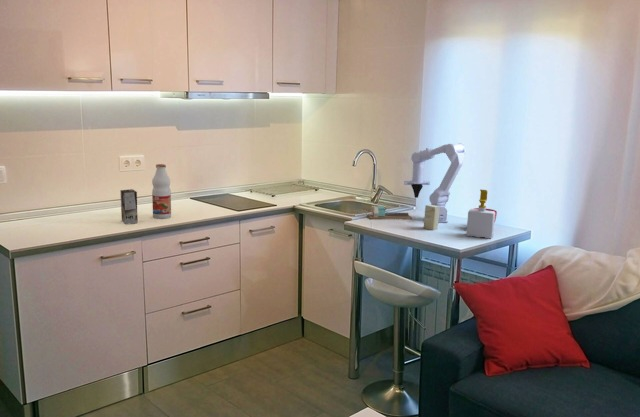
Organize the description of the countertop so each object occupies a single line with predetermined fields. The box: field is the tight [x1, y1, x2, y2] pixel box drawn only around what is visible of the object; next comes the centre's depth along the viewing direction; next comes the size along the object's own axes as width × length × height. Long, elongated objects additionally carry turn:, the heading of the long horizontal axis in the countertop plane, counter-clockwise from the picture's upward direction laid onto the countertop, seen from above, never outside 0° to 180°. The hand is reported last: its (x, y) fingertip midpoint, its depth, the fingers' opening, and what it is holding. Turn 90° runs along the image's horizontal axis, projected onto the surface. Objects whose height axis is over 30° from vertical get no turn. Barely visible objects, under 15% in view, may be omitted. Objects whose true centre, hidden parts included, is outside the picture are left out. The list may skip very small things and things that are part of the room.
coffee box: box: [120, 188, 139, 225], centre depth 295 cm, size 9×6×16 cm
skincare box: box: [423, 204, 440, 231], centre depth 300 cm, size 6×4×12 cm
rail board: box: [366, 205, 413, 220], centre depth 325 cm, size 9×24×6 cm, turn 100°
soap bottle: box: [465, 189, 496, 239], centre depth 286 cm, size 12×7×23 cm, turn 66°
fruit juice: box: [151, 163, 172, 220], centre depth 307 cm, size 9×9×28 cm
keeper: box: [375, 205, 387, 216], centre depth 324 cm, size 5×4×5 cm
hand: (416, 197), depth 332 cm, fingers closed
